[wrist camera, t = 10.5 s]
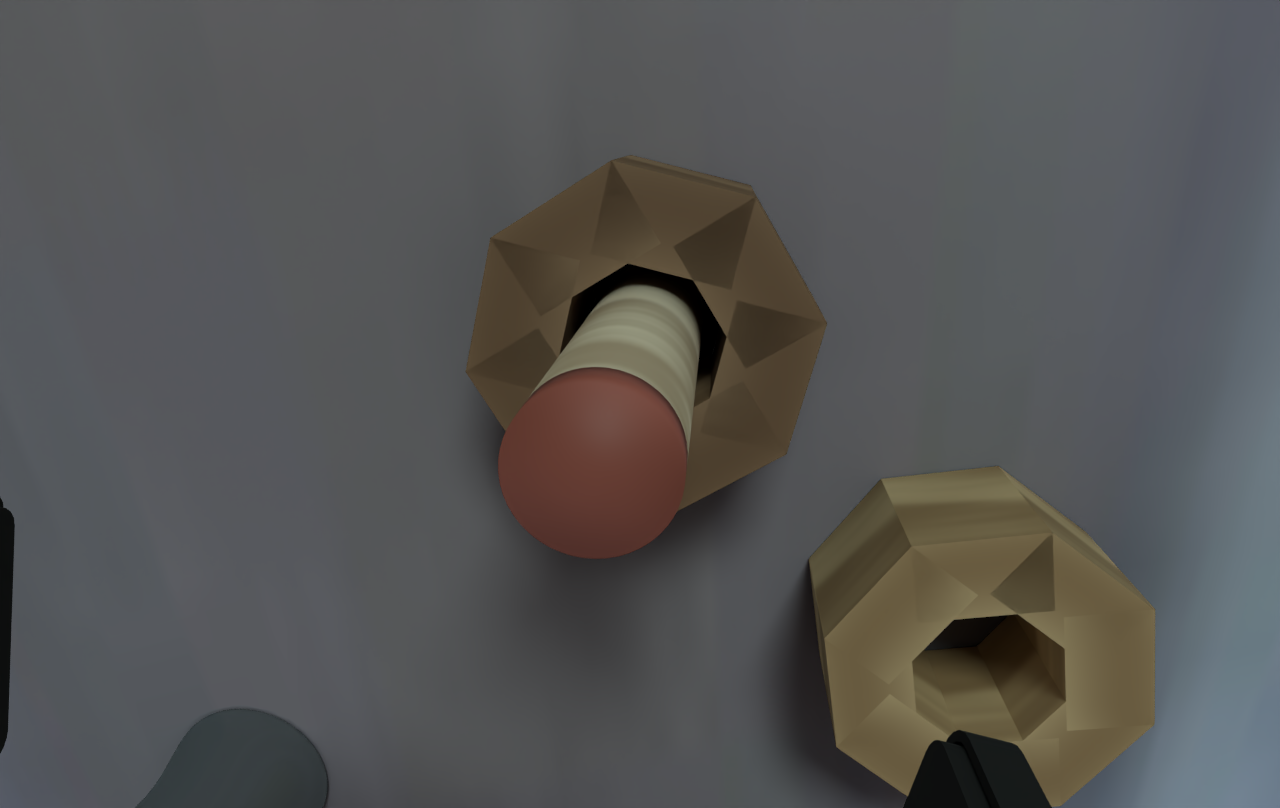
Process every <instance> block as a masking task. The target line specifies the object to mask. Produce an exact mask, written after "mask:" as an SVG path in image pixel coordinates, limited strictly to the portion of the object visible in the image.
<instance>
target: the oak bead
mask: <svg viewBox="0 0 1280 808" xmlns="http://www.w3.org/2000/svg"><path fill="white" fill-rule="evenodd" d="M809 566H810V575H811V584H812V592H813V601H814V610H815V619H816V627H817V636H818V645H819V653H820V660H821V665H822V671H823V676H824V682H825V687H826V693H827V698H828V704H829V709H830V715H831V720H832V726H833V731H834V737H835V742H836V747H837V748H838V749H840V750H841V751H843V752H844V753H846V754H847V755H848V756H850V757H851V758H853V759H854V760H856V761H857V762H859V763H860V764H861V765H863V766H864V767H866V768H867V769H869V770H870V771H872V772H873V773H874V774H876V775H877V776H879V777H880V778H882V779H883V780H884V781H886V782H887V783H889V784H890V785H892V786H893V787H895V788H896V789H897V790H899V791H900V792H902V793H903V794H905V795H906V796H908V795H909V792H910V790H911V787H912V785H913V782H914V780H915V777H916V775H917V772H918V770H919V767H920V765H921V762H922V760H923V757H924V755H925V752H926V750H927V748H928V746H929V745H930V744H931V743H932V742H933V741H935V740H940V741H944V742H946V741H947V739H948V737H949V736H950V735H951V734H952V733H953V732H954V731H957V730H962V731H966V732H970V733H974V734H978V735H982V736H986V737H990V738H994V739H998V740H1002V741H1006V742H1010V743H1013V744H1015V745H1017V746H1018V747H1019V748H1020V750H1021V751H1022V752H1023V754H1024V756H1025V758H1026V760H1027V762H1028V763H1029V765H1030V767H1031V769H1032V771H1033V773H1034V775H1035V777H1036V779H1037V780H1038V782H1039V784H1040V786H1041V788H1042V790H1043V792H1044V794H1045V796H1046V798H1047V799H1048V801H1049V803H1050V805H1051V807H1053V806H1061V805H1062V804H1063V803H1065V802H1066V801H1067V800H1068V799H1069V798H1070V797H1071V796H1073V795H1074V794H1075V793H1076V792H1077V791H1078V790H1080V789H1081V788H1082V787H1083V786H1084V785H1085V784H1086V783H1088V782H1089V781H1090V780H1091V779H1092V778H1093V777H1095V776H1096V775H1097V774H1098V773H1099V772H1100V771H1101V770H1103V769H1104V768H1105V767H1106V766H1107V765H1108V764H1110V763H1111V762H1112V761H1113V760H1114V759H1115V758H1116V757H1118V756H1119V755H1120V754H1121V753H1122V752H1123V751H1124V750H1126V749H1127V748H1128V747H1129V746H1130V745H1131V744H1133V743H1134V742H1135V741H1136V740H1137V739H1138V738H1139V737H1141V736H1142V735H1143V734H1144V733H1145V732H1146V731H1148V730H1149V729H1150V728H1151V727H1152V726H1153V725H1154V719H1155V609H1154V608H1153V606H1152V605H1151V604H1150V603H1149V602H1148V601H1147V600H1146V599H1145V598H1144V596H1143V595H1142V594H1141V593H1140V592H1139V591H1138V590H1137V589H1136V588H1135V586H1134V585H1133V584H1132V583H1131V582H1130V581H1129V580H1128V579H1127V578H1126V576H1125V575H1124V574H1123V573H1122V572H1121V571H1120V570H1119V569H1118V568H1117V566H1116V565H1115V564H1114V563H1113V562H1112V561H1111V560H1110V559H1109V557H1108V556H1107V555H1106V554H1105V553H1104V552H1103V551H1102V550H1101V549H1100V547H1099V546H1098V545H1097V544H1096V543H1095V542H1094V541H1093V540H1092V539H1091V537H1090V536H1089V535H1088V534H1087V533H1086V532H1085V531H1084V530H1082V529H1081V528H1080V527H1078V526H1077V525H1076V524H1074V523H1073V522H1072V521H1070V520H1069V519H1068V518H1066V517H1065V516H1064V515H1062V514H1061V513H1060V512H1058V511H1057V510H1056V509H1054V508H1053V507H1052V506H1050V505H1049V504H1048V503H1047V502H1045V501H1044V500H1043V499H1041V498H1040V497H1039V496H1037V495H1036V494H1035V493H1033V492H1032V491H1031V490H1029V489H1028V488H1027V487H1025V486H1024V485H1023V484H1021V483H1020V482H1019V481H1017V480H1016V479H1015V478H1013V477H1012V476H1011V475H1009V474H1008V473H1007V472H1005V471H1004V470H1003V469H1001V468H1000V467H999V466H994V467H985V468H976V469H967V470H958V471H949V472H940V473H931V474H922V475H913V476H904V477H894V478H885V479H881V480H880V481H879V482H878V483H877V484H876V485H875V486H874V487H873V488H872V490H871V491H870V492H869V493H868V494H867V495H866V496H865V497H864V498H863V500H862V501H861V502H860V503H859V504H858V505H857V506H856V507H855V508H854V509H853V511H852V512H851V513H850V514H849V515H848V516H847V517H846V518H845V519H844V520H843V522H842V523H841V524H840V525H839V526H838V527H837V528H836V529H835V530H834V532H833V533H832V534H831V535H830V536H829V537H828V538H827V539H826V540H825V541H824V543H823V544H822V545H821V546H820V547H819V548H818V549H817V550H816V551H815V553H814V554H813V555H812V556H811V557H810V558H809ZM1002 615H1008V616H1007V617H1006V618H1005V619H1004V620H1003V621H1002V622H1001V623H1000V624H999V625H998V626H997V627H996V628H995V629H994V630H993V631H992V632H991V633H990V634H989V635H988V636H987V637H986V638H985V639H984V640H983V641H982V642H981V643H980V644H979V645H978V646H975V647H963V648H952V649H940V650H928V651H925V650H924V649H925V648H926V647H927V646H928V645H929V644H930V643H931V642H932V641H933V640H934V639H935V638H936V637H937V636H938V635H939V634H940V633H941V632H942V631H943V630H944V629H945V628H946V627H947V626H948V625H949V624H950V623H951V622H952V621H953V620H957V619H968V618H980V617H991V616H1002Z"/></svg>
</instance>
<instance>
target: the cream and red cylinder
mask: <svg viewBox="0 0 1280 808" xmlns="http://www.w3.org/2000/svg"><path fill="white" fill-rule="evenodd" d="M703 317H704V307H703V301H702V297H701V294H700V292H699V290H698V288H697V286H696V285H695V283H694V282H693V281H692V280H691V279H687V278H683V277H679V276H675V275H671V274H667V273H663V272H659V271H655V270H651V269H648V268H644V267H640V266H636V265H634V266H632V267H630V268H628V269H627V270H625V271H624V272H622V273H621V274H620V275H619V276H618V277H617V278H616V279H615V280H614V282H613V283H612V284H611V286H610V287H609V288H608V290H607V291H606V292H605V294H604V295H603V297H602V298H601V299H600V301H599V302H598V303H597V305H596V306H595V307H594V309H593V310H592V312H591V313H590V314H589V316H588V317H587V318H586V320H585V321H584V323H583V324H582V325H581V327H580V328H579V329H578V331H577V332H576V333H575V335H574V336H573V338H572V339H571V340H570V342H569V343H568V344H567V346H566V347H565V349H564V350H563V351H562V353H561V354H560V355H559V357H558V358H557V359H556V361H555V362H554V364H553V365H552V366H551V368H550V369H549V370H548V372H547V373H546V374H545V376H544V377H543V379H542V380H541V381H540V383H539V384H538V385H537V387H536V388H535V390H534V391H533V392H532V394H531V395H530V396H529V398H528V399H527V400H526V402H525V403H524V405H523V406H522V407H521V409H520V410H519V411H518V413H517V414H516V416H515V417H514V418H513V420H512V421H511V423H510V425H509V426H508V428H507V430H506V432H505V435H504V437H503V439H502V443H501V447H500V451H499V459H498V474H499V481H500V486H501V489H502V493H503V496H504V498H505V500H506V503H507V505H508V507H509V509H510V510H511V512H512V514H513V515H514V517H515V518H516V519H517V520H518V522H519V523H520V524H521V525H522V526H523V527H524V528H525V529H526V530H527V531H528V532H529V533H530V534H531V535H532V536H533V537H535V538H536V539H537V540H539V541H540V542H542V543H543V544H545V545H547V546H548V547H550V548H552V549H555V550H557V551H559V552H562V553H565V554H568V555H571V556H576V557H581V558H591V559H603V558H612V557H618V556H621V555H625V554H628V553H631V552H633V551H635V550H638V549H640V548H642V547H643V546H645V545H647V544H648V543H650V542H651V541H652V540H654V539H655V538H656V537H657V536H659V535H660V534H661V533H662V532H663V531H664V529H665V528H666V527H667V526H668V525H669V523H670V522H671V520H672V519H673V518H674V516H675V514H676V512H677V510H678V508H679V505H680V503H681V500H682V497H683V492H684V487H685V479H686V470H687V461H688V452H689V443H690V434H691V425H692V416H693V407H694V398H695V389H696V380H697V371H698V362H699V353H700V344H701V335H702V326H703Z"/></svg>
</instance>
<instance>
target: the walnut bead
mask: <svg viewBox="0 0 1280 808" xmlns="http://www.w3.org/2000/svg"><path fill="white" fill-rule="evenodd" d="M626 264H632V265H636V266H640V267H644V268H648V269H651V270H655V271H659V272H663V273H667V274H671V275H675V276H679V277H683V278H687V279H691V280H693V281H694V282H695V284H696V286H697V288H698V289H699V291H700V293H701V294H702V296H703V298H704V299H705V301H706V303H707V304H708V306H709V308H710V309H711V311H712V313H713V315H714V316H715V318H716V320H717V321H718V323H719V325H720V327H719V331H718V334H717V338H716V342H715V345H714V349H713V353H712V354H711V355H709V356H707V357H706V358H704V359H702V360H700V361H699V362H698V371H697V380H696V389H695V398H694V407H693V416H692V425H691V434H690V443H689V452H688V461H687V470H686V479H685V487H684V492H683V497H682V500H681V503H680V505H679V508H678V510H677V511H679V510H681V509H683V508H685V507H687V506H689V505H690V504H692V503H694V502H696V501H698V500H700V499H702V498H704V497H706V496H708V495H710V494H711V493H713V492H715V491H717V490H719V489H721V488H723V487H725V486H727V485H729V484H731V483H732V482H734V481H736V480H738V479H740V478H742V477H744V476H746V475H748V474H750V473H752V472H754V471H755V470H757V469H759V468H761V467H763V466H765V465H767V464H769V463H771V462H773V461H775V460H776V459H778V458H780V457H782V456H784V455H786V454H787V450H788V447H789V444H790V441H791V438H792V434H793V431H794V428H795V425H796V422H797V418H798V415H799V412H800V409H801V406H802V402H803V399H804V396H805V393H806V390H807V386H808V383H809V380H810V377H811V374H812V370H813V367H814V364H815V361H816V358H817V354H818V351H819V348H820V345H821V342H822V338H823V335H824V332H825V329H826V326H827V322H826V320H825V318H824V317H823V315H822V313H821V311H820V309H819V307H818V305H817V303H816V302H815V300H814V298H813V296H812V294H811V292H810V290H809V289H808V287H807V285H806V283H805V282H804V280H803V278H802V276H801V275H800V273H799V271H798V269H797V267H796V266H795V264H794V262H793V260H792V259H791V257H790V255H789V253H788V251H787V250H786V248H785V246H784V244H783V243H782V241H781V239H780V237H779V235H778V234H777V232H776V230H775V228H774V227H773V225H772V223H771V221H770V219H769V218H768V216H767V214H766V212H765V211H764V209H763V207H762V205H761V203H760V202H759V200H758V198H757V196H756V195H755V193H754V191H753V189H752V187H751V185H747V184H743V183H739V182H735V181H731V180H728V179H724V178H720V177H716V176H712V175H708V174H704V173H700V172H696V171H692V170H688V169H684V168H680V167H676V166H672V165H668V164H664V163H660V162H656V161H652V160H648V159H644V158H641V157H637V156H633V155H630V156H626V157H622V158H618V159H615V160H611V161H610V162H608V163H607V164H605V165H604V166H602V167H600V168H599V169H597V170H596V171H594V172H593V173H591V174H589V175H588V176H586V177H585V178H583V179H582V180H580V181H579V182H577V183H575V184H574V185H572V186H571V187H569V188H568V189H566V190H564V191H563V192H561V193H560V194H558V195H557V196H555V197H554V198H552V199H550V200H549V201H547V202H546V203H544V204H543V205H541V206H539V207H538V208H536V209H535V210H533V211H532V212H530V213H529V214H527V215H525V216H524V217H522V218H521V219H519V220H518V221H516V222H514V223H513V224H511V225H510V226H508V227H507V228H505V229H504V230H502V231H500V232H499V233H497V234H496V235H494V236H493V237H491V238H490V243H489V249H488V254H487V259H486V265H485V270H484V276H483V281H482V286H481V292H480V297H479V303H478V308H477V313H476V319H475V324H474V330H473V335H472V341H471V346H470V351H469V357H468V362H467V368H466V373H467V375H468V376H469V378H470V379H471V381H472V382H473V383H474V385H475V386H476V388H477V389H478V391H479V392H480V394H481V395H482V397H483V398H484V400H485V401H486V403H487V404H488V406H489V407H490V409H491V410H492V412H493V413H494V415H495V416H496V418H497V419H498V421H499V422H500V424H501V425H502V427H503V428H504V430H505V431H506V430H507V428H508V426H509V425H510V423H511V421H512V420H513V418H514V417H515V416H516V414H517V413H518V411H519V410H520V409H521V407H522V406H523V405H524V403H525V402H526V400H527V399H528V398H529V396H530V395H531V394H532V392H533V391H534V390H535V388H536V387H537V385H538V384H539V383H540V381H541V380H542V379H543V377H544V376H545V374H546V373H547V372H548V370H549V369H550V368H551V366H552V365H553V364H554V362H555V361H556V359H557V358H558V357H559V355H560V354H561V353H562V351H563V350H564V349H565V347H566V346H567V344H568V343H569V342H570V340H571V339H572V338H573V336H574V335H575V333H576V332H577V331H578V329H579V328H580V327H581V325H582V324H583V323H584V321H585V320H586V318H587V314H588V310H589V305H590V301H591V296H592V292H593V287H594V284H595V283H597V282H598V281H600V280H601V279H603V278H605V277H606V276H608V275H610V274H611V273H613V272H615V271H616V270H618V269H620V268H621V267H623V266H625V265H626Z"/></svg>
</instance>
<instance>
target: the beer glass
mask: <svg viewBox="0 0 1280 808" xmlns="http://www.w3.org/2000/svg"><path fill="white" fill-rule="evenodd" d="M327 790H328V781H327V774H326V770H325V767H324V764H323V762H322V760H321V757H320V756H319V754H318V752H317V751H316V749H315V748H314V746H313V745H312V744H311V742H310V741H309V740H308V739H307V738H306V737H305V736H304V735H303V734H302V733H301V732H300V731H298V730H297V729H296V728H295V727H293V726H292V725H290V724H289V723H287V722H285V721H283V720H282V719H279V718H277V717H275V716H273V715H270V714H267V713H264V712H260V711H256V710H249V709H229V710H223V711H219V712H216V713H213V714H211V715H209V716H207V717H205V718H203V719H202V720H200V721H199V722H197V723H196V724H195V725H194V726H193V727H192V728H191V729H190V730H189V731H188V732H187V733H186V735H185V736H184V737H183V739H182V740H181V742H180V744H179V745H178V747H177V749H176V750H175V752H174V754H173V756H172V757H171V759H170V761H169V763H168V764H167V766H166V768H165V770H164V771H163V773H162V775H161V776H160V778H159V779H158V781H157V782H156V784H155V785H154V787H153V788H152V789H151V790H150V792H149V793H148V794H147V795H146V797H145V798H144V799H143V800H142V801H141V802H140V803H139V804H138V805H137V806H136V807H135V808H323V806H324V804H325V800H326V797H327Z"/></svg>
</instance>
